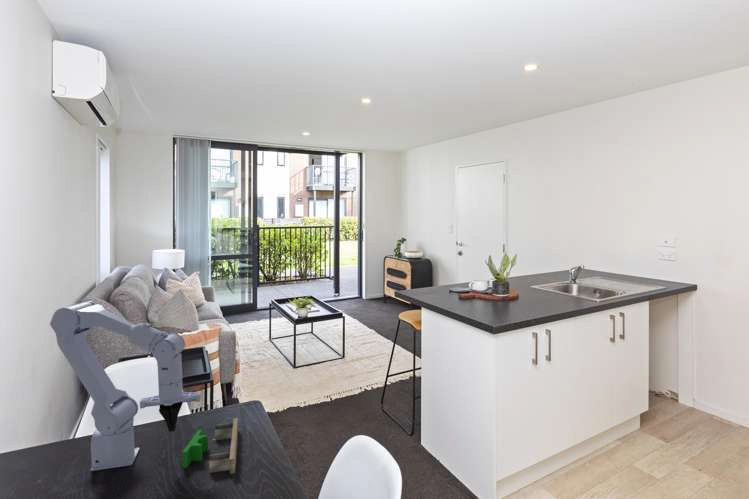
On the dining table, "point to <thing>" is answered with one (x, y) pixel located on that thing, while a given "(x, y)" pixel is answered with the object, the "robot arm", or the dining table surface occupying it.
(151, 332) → the robot arm
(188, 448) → the pipe clamp
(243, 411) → the dining table surface
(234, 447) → the wooden drawer handle
